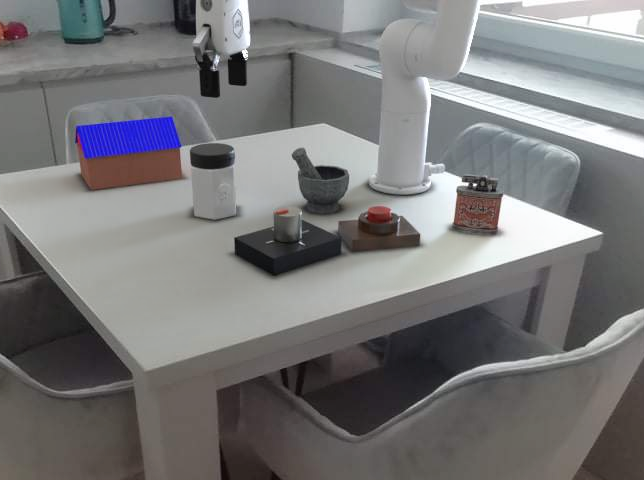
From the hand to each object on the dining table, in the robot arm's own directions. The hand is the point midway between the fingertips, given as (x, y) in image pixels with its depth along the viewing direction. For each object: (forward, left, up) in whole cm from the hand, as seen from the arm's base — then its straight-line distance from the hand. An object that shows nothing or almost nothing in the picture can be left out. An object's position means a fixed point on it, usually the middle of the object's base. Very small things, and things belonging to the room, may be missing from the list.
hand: (224, 90), depth 122 cm
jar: (-1, -11, -25) cm, 27 cm away
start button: (-23, +13, -21) cm, 33 cm away
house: (+9, -39, -25) cm, 47 cm away
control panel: (-6, +13, -24) cm, 28 cm away
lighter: (-41, +16, -25) cm, 50 cm away
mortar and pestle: (-20, -5, -25) cm, 32 cm away
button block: (-23, +13, -24) cm, 36 cm away
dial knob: (-6, +13, -21) cm, 26 cm away
